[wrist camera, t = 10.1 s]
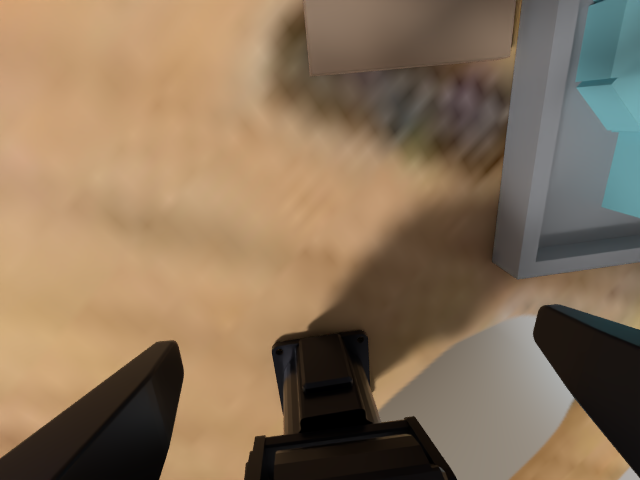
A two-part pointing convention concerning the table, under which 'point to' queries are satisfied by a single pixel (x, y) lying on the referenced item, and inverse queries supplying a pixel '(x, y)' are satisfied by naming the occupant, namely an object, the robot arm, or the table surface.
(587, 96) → the ring
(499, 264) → the tray
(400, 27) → the ring
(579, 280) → the table surface
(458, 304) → the table surface
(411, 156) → the table surface
